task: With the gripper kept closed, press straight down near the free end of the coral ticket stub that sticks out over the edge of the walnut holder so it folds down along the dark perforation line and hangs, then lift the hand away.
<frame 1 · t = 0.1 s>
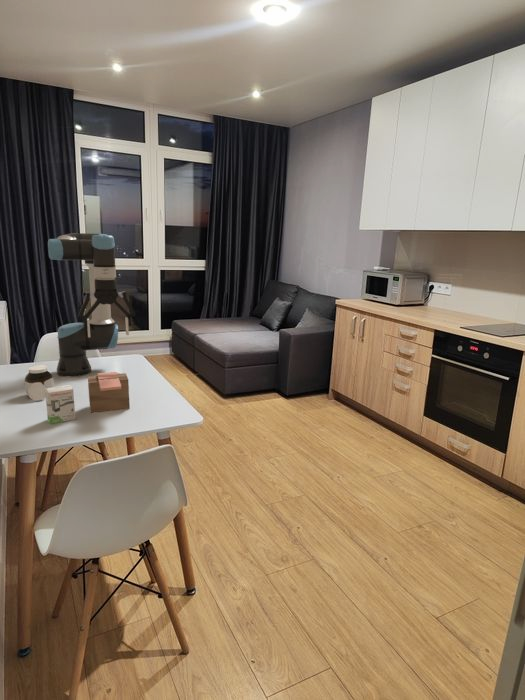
hand: (108, 335, 164), 28 cm above the table, fingers open, 13 cm apart
spread jar: (40, 396, 178), on the table
stub: (109, 384, 158), point 13 cm above the table, hinge at 0.0°
holder: (109, 407, 169), on the table
ink box: (61, 419, 157), on the table
cup: (108, 393, 185), on the table
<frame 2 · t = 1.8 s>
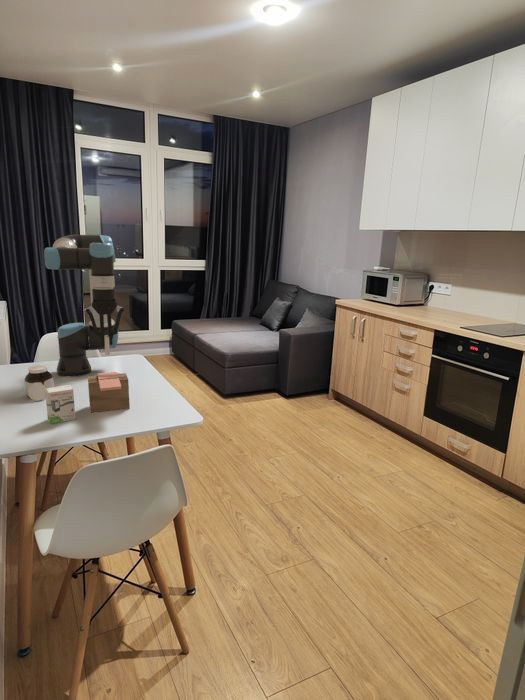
hand: (107, 353, 158), 23 cm above the table, fingers closed
nothing on the table moved.
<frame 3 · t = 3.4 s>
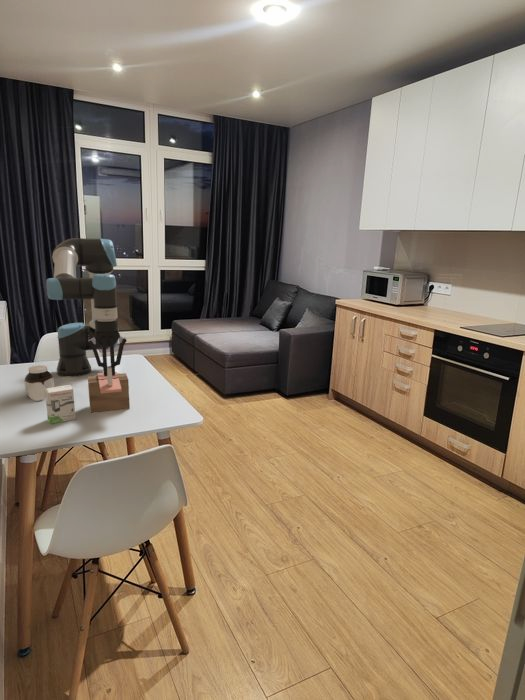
hand: (110, 384, 157), 13 cm above the table, fingers closed
stub: (109, 385, 158), point 12 cm above the table, hinge at 5.2°, touching gripper
everything else where it was.
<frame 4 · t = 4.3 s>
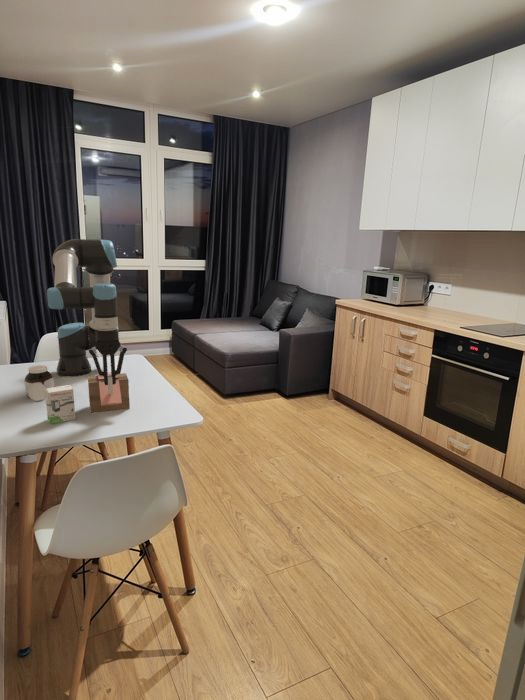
hand: (110, 393, 157), 10 cm above the table, fingers closed
stub: (110, 392, 159), point 9 cm above the table, hinge at 38.2°, touching gripper
everything else where it was.
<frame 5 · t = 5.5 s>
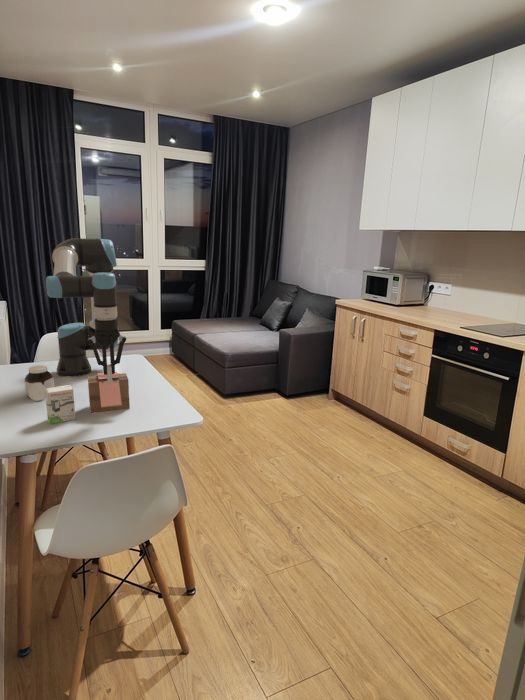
hand: (109, 382, 157), 13 cm above the table, fingers closed
stub: (110, 393, 160), point 9 cm above the table, hinge at 46.5°
everything else where it was.
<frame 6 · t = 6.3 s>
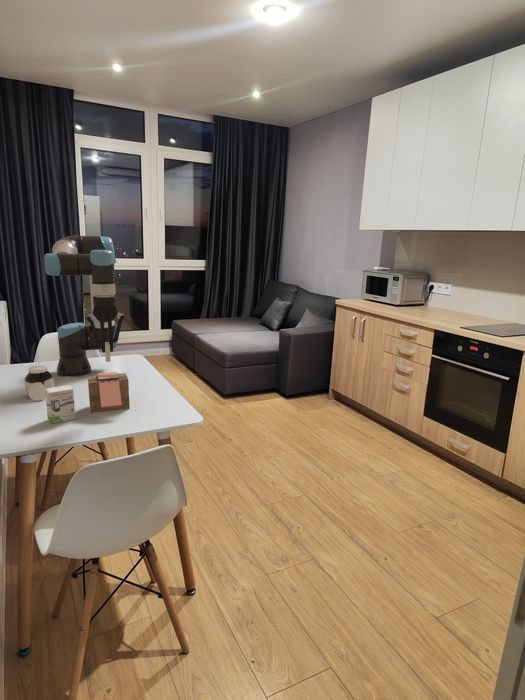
hand: (108, 360, 158), 21 cm above the table, fingers closed
nothing on the table moved.
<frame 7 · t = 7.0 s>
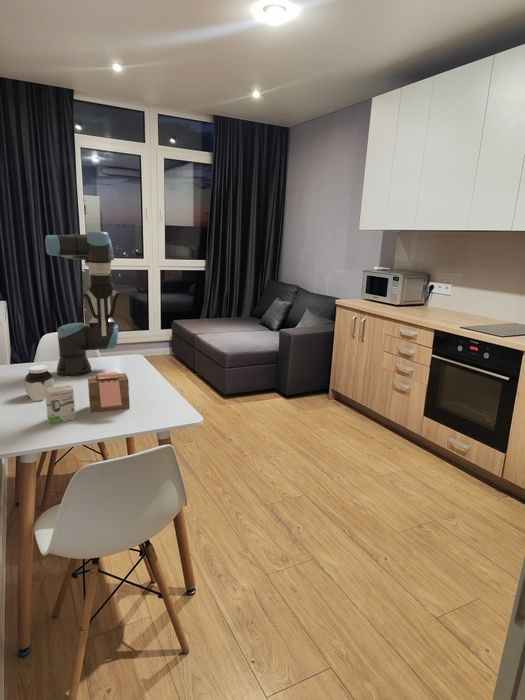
hand: (104, 335, 170), 27 cm above the table, fingers closed
nothing on the table moved.
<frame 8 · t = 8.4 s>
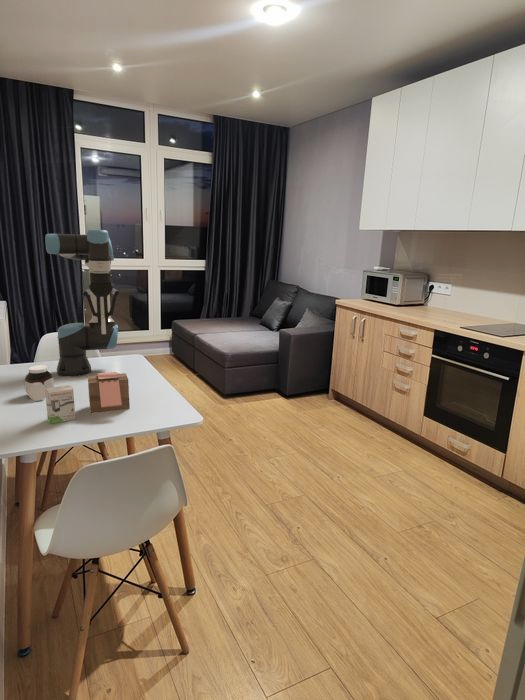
hand: (103, 333, 170), 27 cm above the table, fingers closed
nothing on the table moved.
at the end: stub at +47° (first picture: +0°); stub touching nothing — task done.
